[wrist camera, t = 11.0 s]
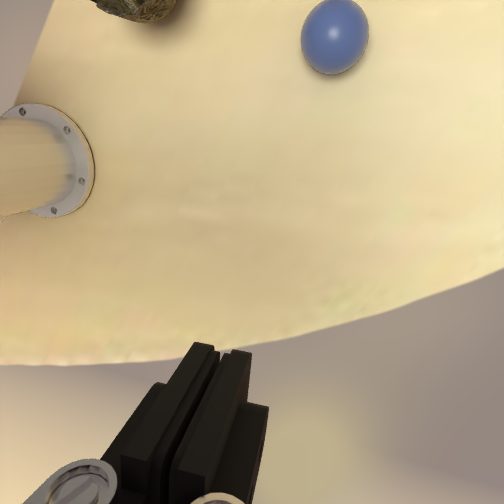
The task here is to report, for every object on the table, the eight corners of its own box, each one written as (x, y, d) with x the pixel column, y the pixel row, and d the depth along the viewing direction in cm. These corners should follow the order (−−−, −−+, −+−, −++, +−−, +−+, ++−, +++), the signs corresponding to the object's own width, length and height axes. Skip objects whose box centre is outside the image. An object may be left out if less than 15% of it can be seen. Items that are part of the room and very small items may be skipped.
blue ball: (368, -21, 26) (343, -16, 30) (298, 21, 27) (284, 20, 31) (387, 56, 29) (362, 50, 33) (324, 91, 30) (308, 81, 34)
